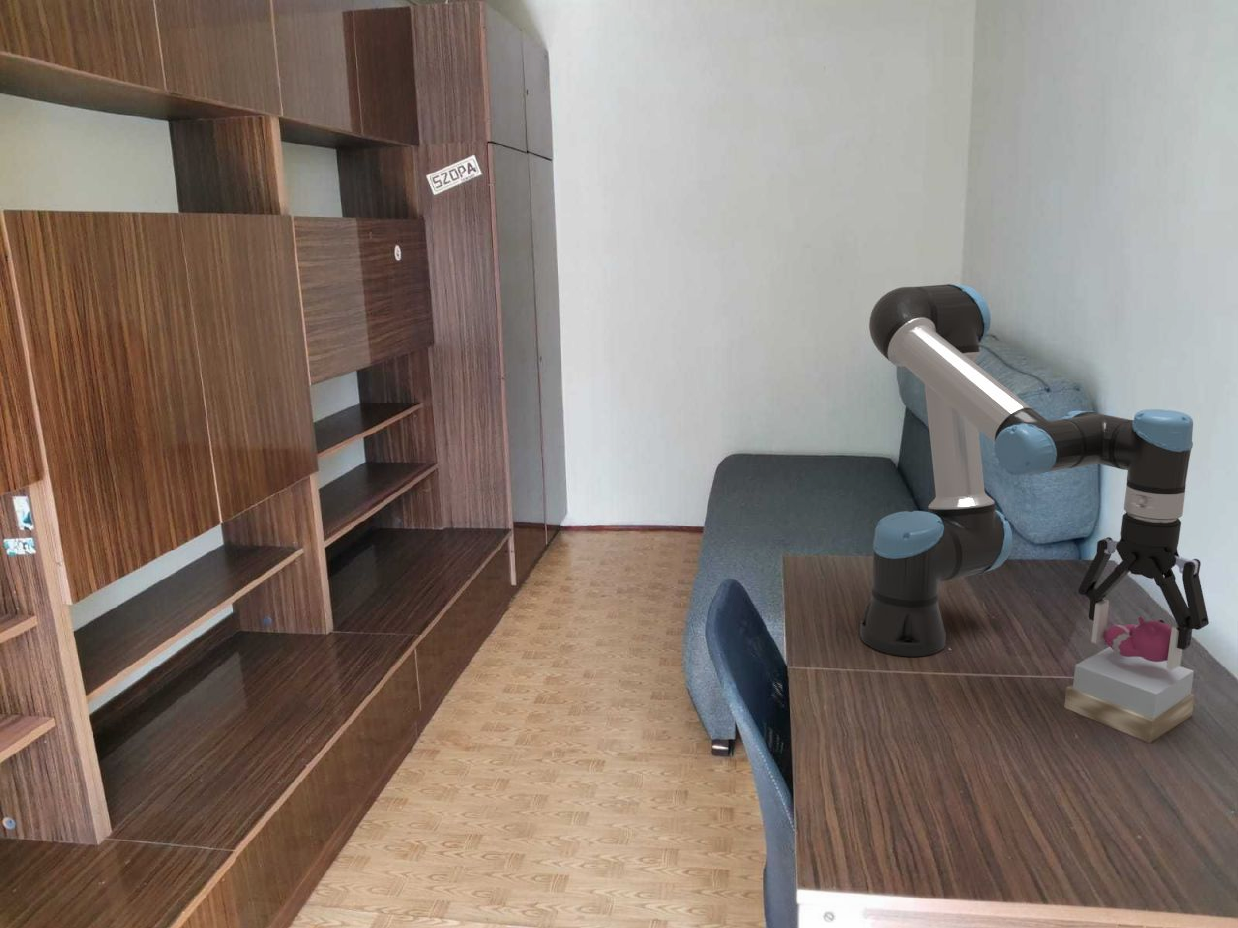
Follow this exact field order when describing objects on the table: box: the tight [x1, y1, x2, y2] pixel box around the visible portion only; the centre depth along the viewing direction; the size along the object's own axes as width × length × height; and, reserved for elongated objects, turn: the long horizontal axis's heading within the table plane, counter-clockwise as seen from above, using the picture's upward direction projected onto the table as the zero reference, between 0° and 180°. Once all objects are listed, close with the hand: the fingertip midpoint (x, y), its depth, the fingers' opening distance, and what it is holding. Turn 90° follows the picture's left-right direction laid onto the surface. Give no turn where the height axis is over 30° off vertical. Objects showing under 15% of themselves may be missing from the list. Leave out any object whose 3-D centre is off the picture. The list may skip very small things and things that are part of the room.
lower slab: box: [1063, 684, 1195, 744], centre depth 142 cm, size 13×13×4 cm
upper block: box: [1073, 646, 1195, 720], centre depth 141 cm, size 12×12×4 cm
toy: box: [1103, 616, 1172, 662], centre depth 141 cm, size 11×9×10 cm
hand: (1134, 653), depth 140 cm, fingers closed on toy, 10 cm apart
